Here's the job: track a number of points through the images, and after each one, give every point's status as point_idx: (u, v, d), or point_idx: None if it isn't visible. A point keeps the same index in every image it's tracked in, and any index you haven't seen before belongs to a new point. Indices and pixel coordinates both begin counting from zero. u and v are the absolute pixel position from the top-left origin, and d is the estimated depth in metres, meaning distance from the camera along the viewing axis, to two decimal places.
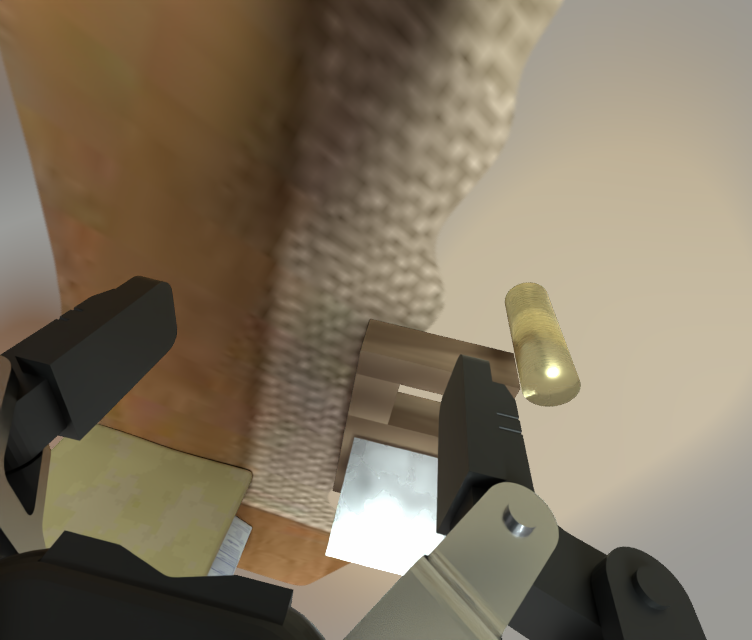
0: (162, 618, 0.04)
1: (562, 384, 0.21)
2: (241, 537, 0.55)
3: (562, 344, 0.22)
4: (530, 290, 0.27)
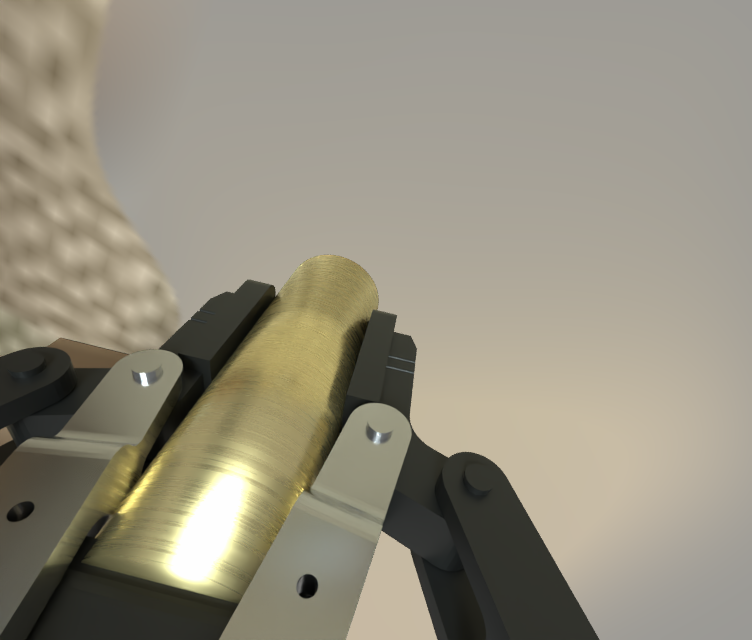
0: (162, 618, 0.04)
1: None
2: None
3: (281, 427, 0.07)
4: (316, 270, 0.11)
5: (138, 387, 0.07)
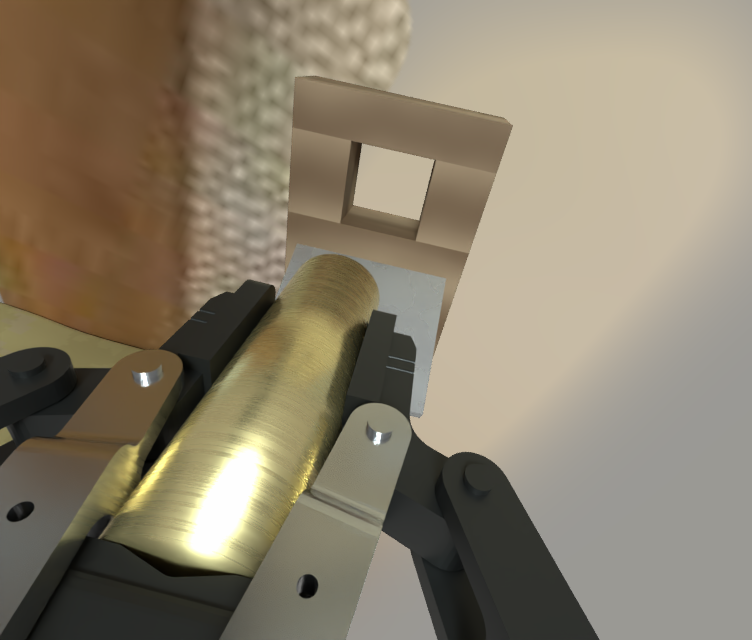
0: (162, 618, 0.04)
1: None
2: None
3: (287, 417, 0.07)
4: (318, 268, 0.11)
5: (138, 387, 0.07)
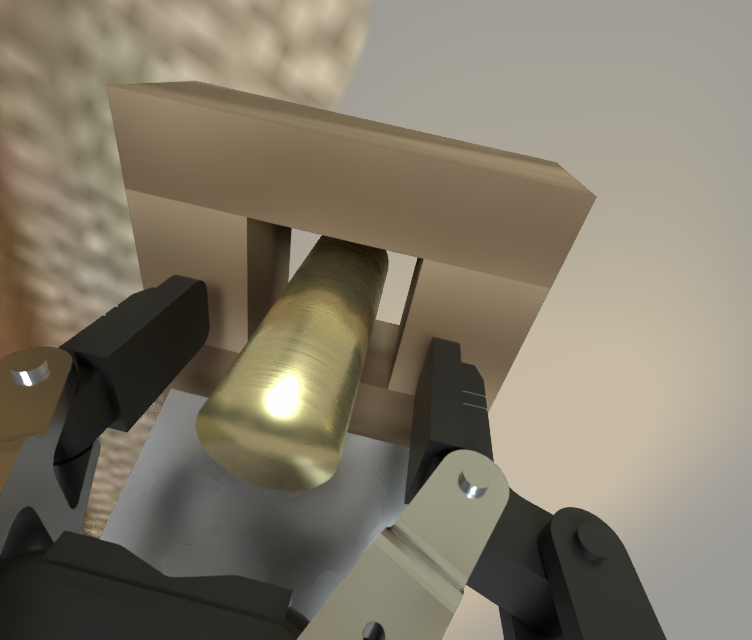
0: (162, 618, 0.04)
1: (289, 437, 0.08)
2: None
3: (330, 331, 0.09)
4: None
5: (14, 386, 0.06)
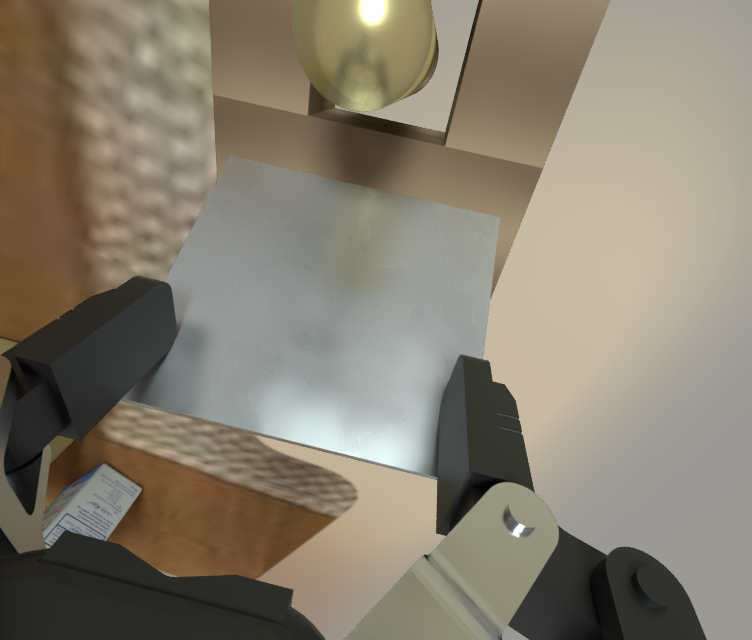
0: (162, 618, 0.04)
1: (385, 10, 0.08)
2: (118, 500, 0.35)
3: None
4: None
5: None
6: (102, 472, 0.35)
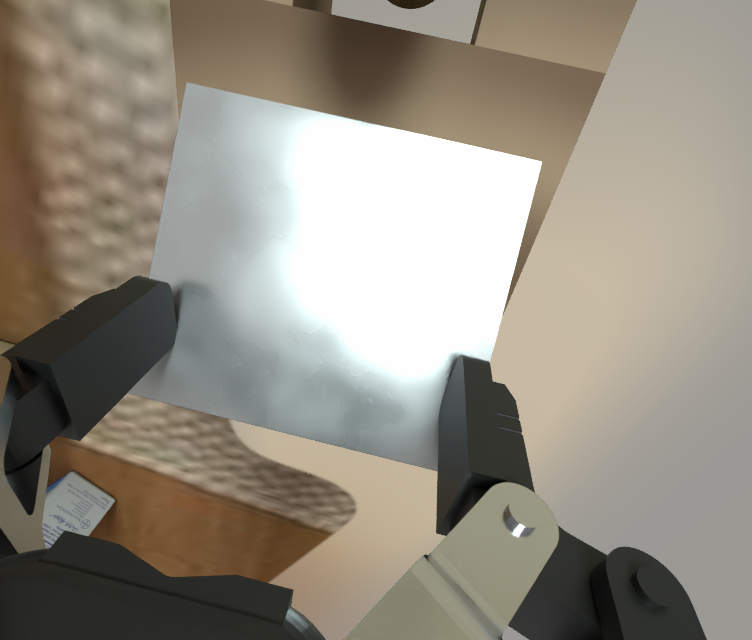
0: (162, 618, 0.04)
1: None
2: (86, 513, 0.31)
3: None
4: None
5: None
6: (69, 482, 0.31)
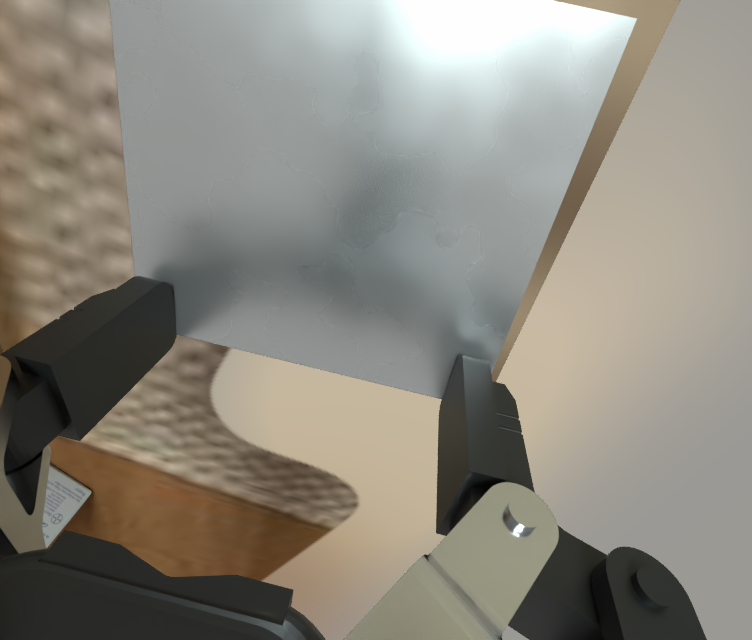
0: (162, 618, 0.04)
1: None
2: (58, 507, 0.28)
3: None
4: None
5: None
6: None
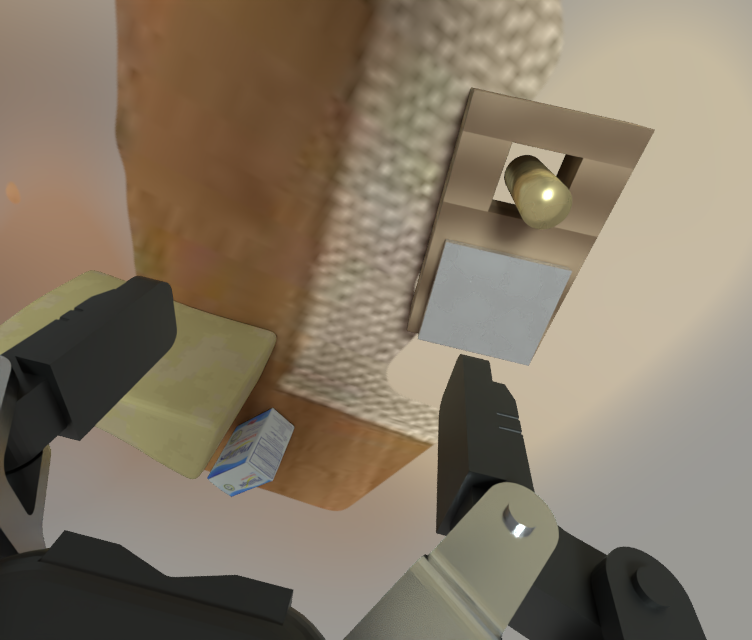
0: (162, 618, 0.04)
1: (556, 201, 0.24)
2: (284, 432, 0.51)
3: (556, 177, 0.25)
4: (528, 157, 0.30)
5: None
6: (273, 414, 0.51)
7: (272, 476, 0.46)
